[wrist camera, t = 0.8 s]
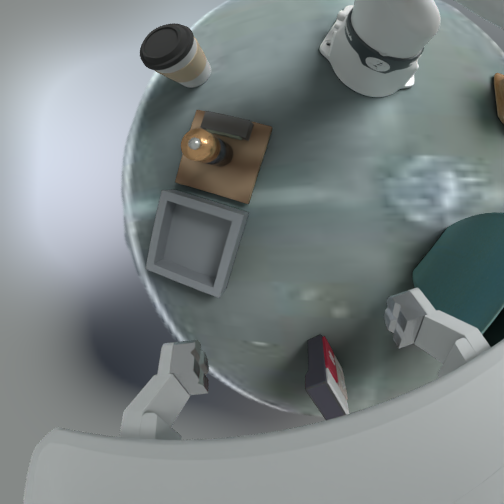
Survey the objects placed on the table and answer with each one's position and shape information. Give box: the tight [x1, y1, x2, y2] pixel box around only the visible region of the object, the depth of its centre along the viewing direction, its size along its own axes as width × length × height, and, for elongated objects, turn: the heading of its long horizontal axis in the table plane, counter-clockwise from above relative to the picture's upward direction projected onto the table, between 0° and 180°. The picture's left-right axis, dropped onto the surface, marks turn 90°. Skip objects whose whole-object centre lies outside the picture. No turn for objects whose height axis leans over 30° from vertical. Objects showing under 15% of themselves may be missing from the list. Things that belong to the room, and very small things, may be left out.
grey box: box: [305, 335, 349, 420], centre depth 45 cm, size 11×4×15 cm, turn 31°
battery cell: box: [181, 128, 233, 167], centre depth 39 cm, size 4×4×13 cm
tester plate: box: [175, 110, 273, 204], centre depth 44 cm, size 14×14×4 cm
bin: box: [146, 189, 249, 298], centre depth 48 cm, size 15×15×5 cm
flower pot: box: [412, 213, 504, 347], centre depth 30 cm, size 20×20×28 cm
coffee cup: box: [140, 24, 211, 88], centre depth 36 cm, size 9×9×15 cm
